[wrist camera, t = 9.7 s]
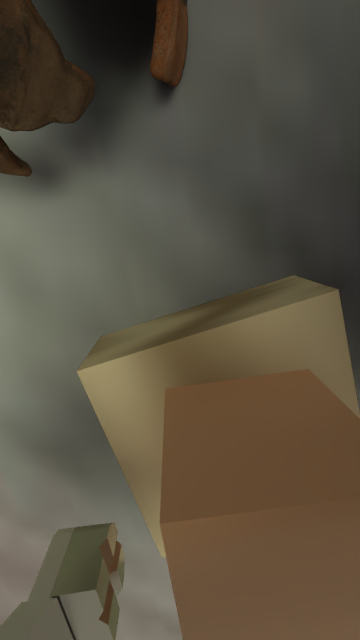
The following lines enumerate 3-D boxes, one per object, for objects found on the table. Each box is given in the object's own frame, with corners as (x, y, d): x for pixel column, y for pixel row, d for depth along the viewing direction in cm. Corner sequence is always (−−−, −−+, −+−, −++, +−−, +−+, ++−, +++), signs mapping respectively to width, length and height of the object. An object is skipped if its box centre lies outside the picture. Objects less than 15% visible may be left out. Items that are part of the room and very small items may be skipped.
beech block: (290, 274, 13) (338, 289, 9) (324, 435, 16) (374, 500, 12) (102, 333, 14) (76, 371, 10) (164, 481, 16) (162, 557, 12)
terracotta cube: (308, 368, 10) (432, 488, 5) (310, 484, 12) (410, 662, 7) (165, 388, 10) (159, 523, 5) (184, 501, 12) (193, 689, 7)
